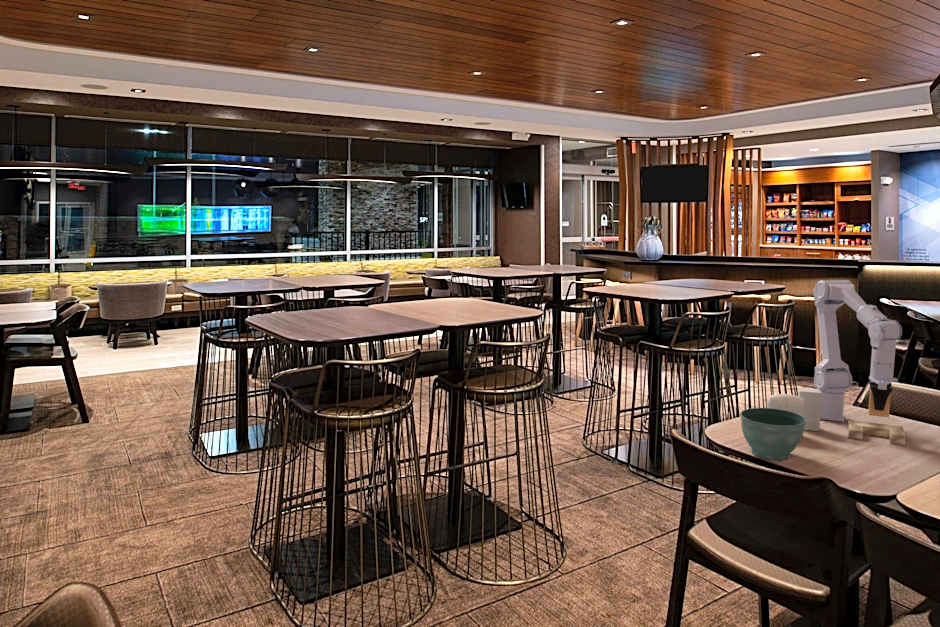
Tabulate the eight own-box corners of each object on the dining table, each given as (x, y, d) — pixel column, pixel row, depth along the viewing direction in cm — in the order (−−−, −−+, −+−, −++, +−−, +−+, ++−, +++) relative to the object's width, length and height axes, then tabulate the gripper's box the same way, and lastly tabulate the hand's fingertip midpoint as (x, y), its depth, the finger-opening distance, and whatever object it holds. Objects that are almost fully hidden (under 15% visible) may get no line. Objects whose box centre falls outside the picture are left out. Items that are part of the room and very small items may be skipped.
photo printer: (801, 434, 205) (804, 393, 204) (803, 438, 201) (806, 397, 200) (763, 431, 208) (766, 391, 207) (765, 435, 204) (767, 394, 203)
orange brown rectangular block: (868, 415, 200) (870, 391, 199) (868, 412, 203) (870, 389, 202) (888, 417, 198) (890, 393, 197) (888, 414, 201) (890, 391, 200)
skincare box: (817, 427, 212) (820, 389, 210) (819, 431, 208) (822, 392, 206) (795, 425, 214) (798, 387, 212) (797, 429, 210) (799, 391, 208)
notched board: (848, 438, 202) (849, 429, 201) (848, 427, 211) (848, 419, 211) (904, 445, 195) (905, 436, 195) (901, 434, 205) (902, 426, 205)
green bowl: (803, 469, 178) (806, 428, 176) (736, 459, 184) (738, 420, 183) (802, 449, 192) (805, 411, 191) (740, 441, 199) (742, 405, 197)
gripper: (900, 368, 190) (896, 416, 192) (896, 359, 203) (893, 404, 205) (871, 366, 193) (867, 413, 195) (869, 356, 206) (865, 401, 208)
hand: (878, 408), depth 200 cm, fingers closed on orange brown rectangular block, 3 cm apart
